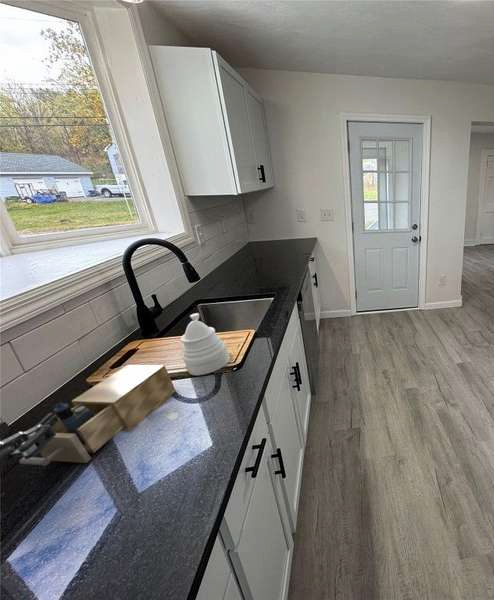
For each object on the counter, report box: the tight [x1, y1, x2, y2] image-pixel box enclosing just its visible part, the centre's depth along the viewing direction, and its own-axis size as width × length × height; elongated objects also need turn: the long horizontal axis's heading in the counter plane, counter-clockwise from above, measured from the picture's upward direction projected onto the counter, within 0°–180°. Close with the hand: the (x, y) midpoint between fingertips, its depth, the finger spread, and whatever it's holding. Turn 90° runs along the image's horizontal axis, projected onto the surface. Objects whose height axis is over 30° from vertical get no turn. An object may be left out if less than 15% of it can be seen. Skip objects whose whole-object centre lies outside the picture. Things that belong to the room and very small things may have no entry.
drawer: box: [18, 404, 125, 466], centre depth 76 cm, size 19×11×8 cm, turn 173°
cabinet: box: [71, 364, 177, 432], centre depth 87 cm, size 16×13×10 cm
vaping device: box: [53, 401, 94, 445], centre depth 75 cm, size 3×5×12 cm, turn 166°
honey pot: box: [180, 312, 231, 376], centre depth 105 cm, size 13×13×18 cm
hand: (30, 420), depth 65 cm, fingers open, 8 cm apart
